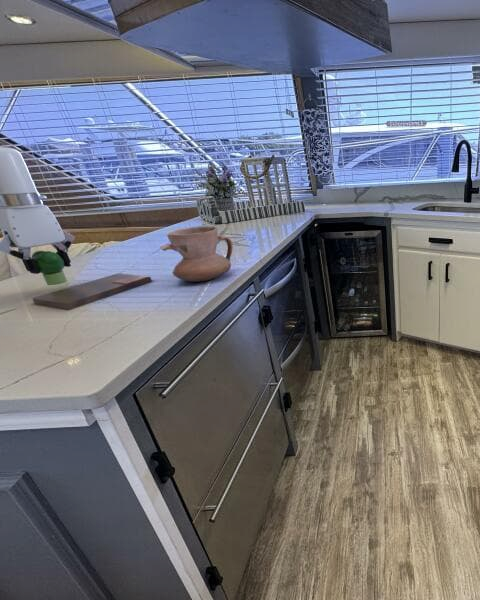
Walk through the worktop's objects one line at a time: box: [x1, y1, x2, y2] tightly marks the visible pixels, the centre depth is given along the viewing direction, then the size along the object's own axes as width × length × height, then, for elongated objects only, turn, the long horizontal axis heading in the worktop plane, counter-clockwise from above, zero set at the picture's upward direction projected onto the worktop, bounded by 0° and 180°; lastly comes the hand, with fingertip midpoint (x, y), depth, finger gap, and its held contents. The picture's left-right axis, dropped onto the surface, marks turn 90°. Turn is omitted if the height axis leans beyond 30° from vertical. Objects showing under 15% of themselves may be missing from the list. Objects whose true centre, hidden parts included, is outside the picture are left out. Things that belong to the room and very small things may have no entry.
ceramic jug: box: [160, 225, 234, 283], centre depth 93 cm, size 18×14×14 cm
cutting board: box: [31, 272, 153, 310], centre depth 87 cm, size 20×14×2 cm
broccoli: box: [31, 250, 68, 286], centre depth 88 cm, size 6×7×9 cm
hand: (51, 269), depth 88 cm, fingers closed on broccoli, 5 cm apart
